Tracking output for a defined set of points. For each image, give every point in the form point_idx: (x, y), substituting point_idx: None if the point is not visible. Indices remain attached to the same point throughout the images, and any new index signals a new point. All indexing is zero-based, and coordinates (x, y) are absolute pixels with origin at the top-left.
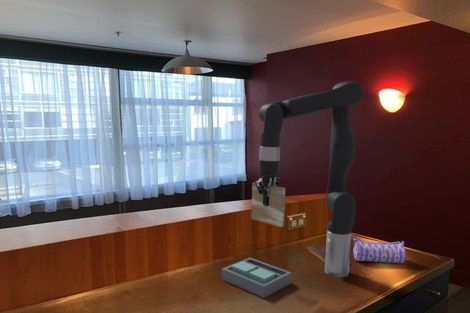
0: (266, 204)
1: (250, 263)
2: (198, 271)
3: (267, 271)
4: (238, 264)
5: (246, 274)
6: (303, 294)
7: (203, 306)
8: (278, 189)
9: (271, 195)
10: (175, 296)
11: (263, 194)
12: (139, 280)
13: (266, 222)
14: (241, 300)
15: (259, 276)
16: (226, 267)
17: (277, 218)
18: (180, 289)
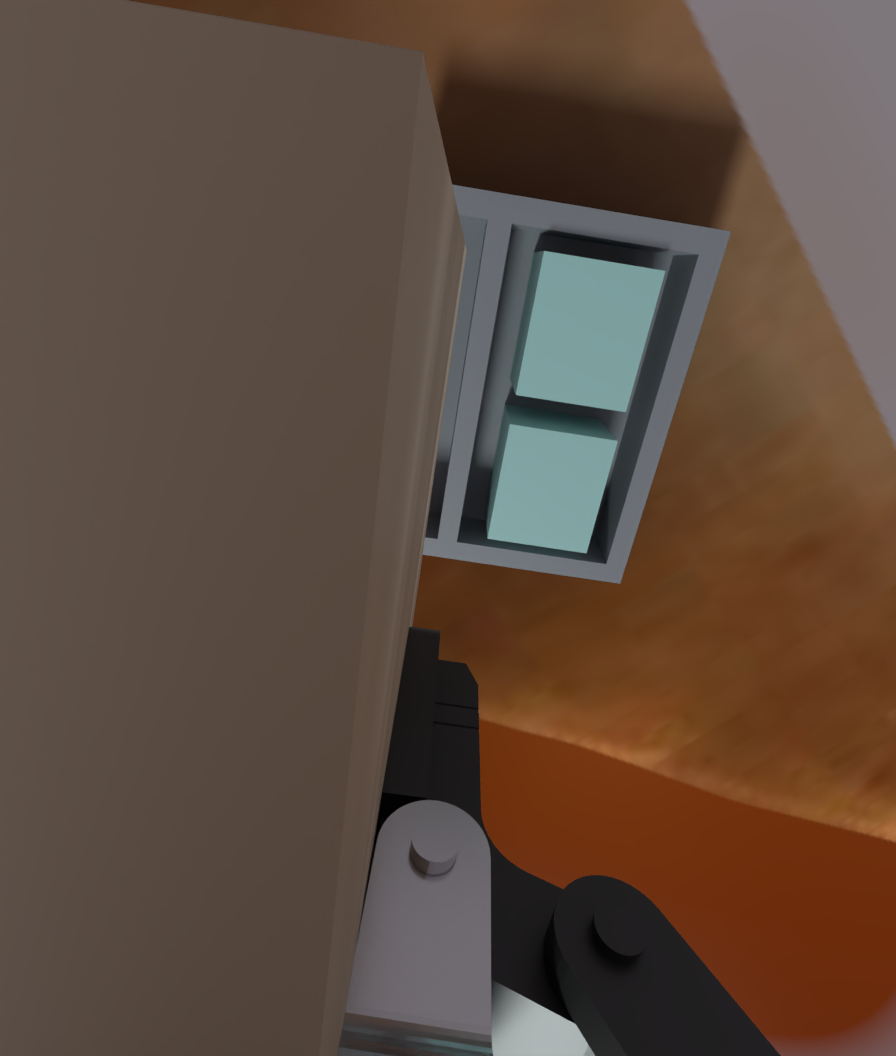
0: (453, 666)
1: (449, 496)
2: (558, 689)
3: (537, 320)
4: (545, 531)
5: (604, 433)
6: (470, 48)
7: (882, 470)
8: (365, 718)
9: (385, 755)
10: (841, 620)
11: (651, 934)
12: (770, 802)
13: (428, 512)
14: (741, 350)
15: (646, 322)
16: (590, 572)
17: (452, 341)
18: (769, 643)
